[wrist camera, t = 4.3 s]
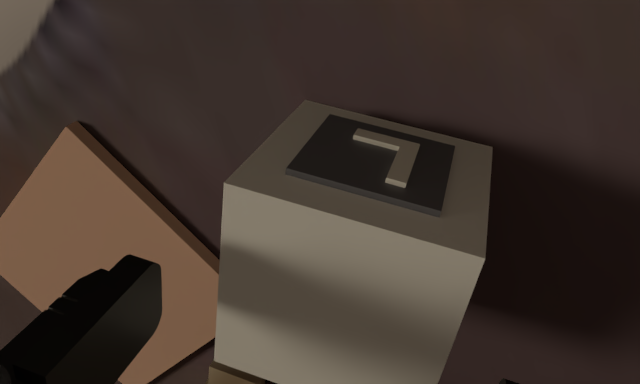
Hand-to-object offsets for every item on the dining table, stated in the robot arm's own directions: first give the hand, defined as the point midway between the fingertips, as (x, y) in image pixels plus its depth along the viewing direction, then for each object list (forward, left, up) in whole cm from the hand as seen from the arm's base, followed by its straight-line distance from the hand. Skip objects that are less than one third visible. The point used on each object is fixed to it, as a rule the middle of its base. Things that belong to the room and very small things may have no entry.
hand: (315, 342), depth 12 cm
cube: (0, 0, -7) cm, 7 cm away
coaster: (-12, +4, -7) cm, 15 cm away
